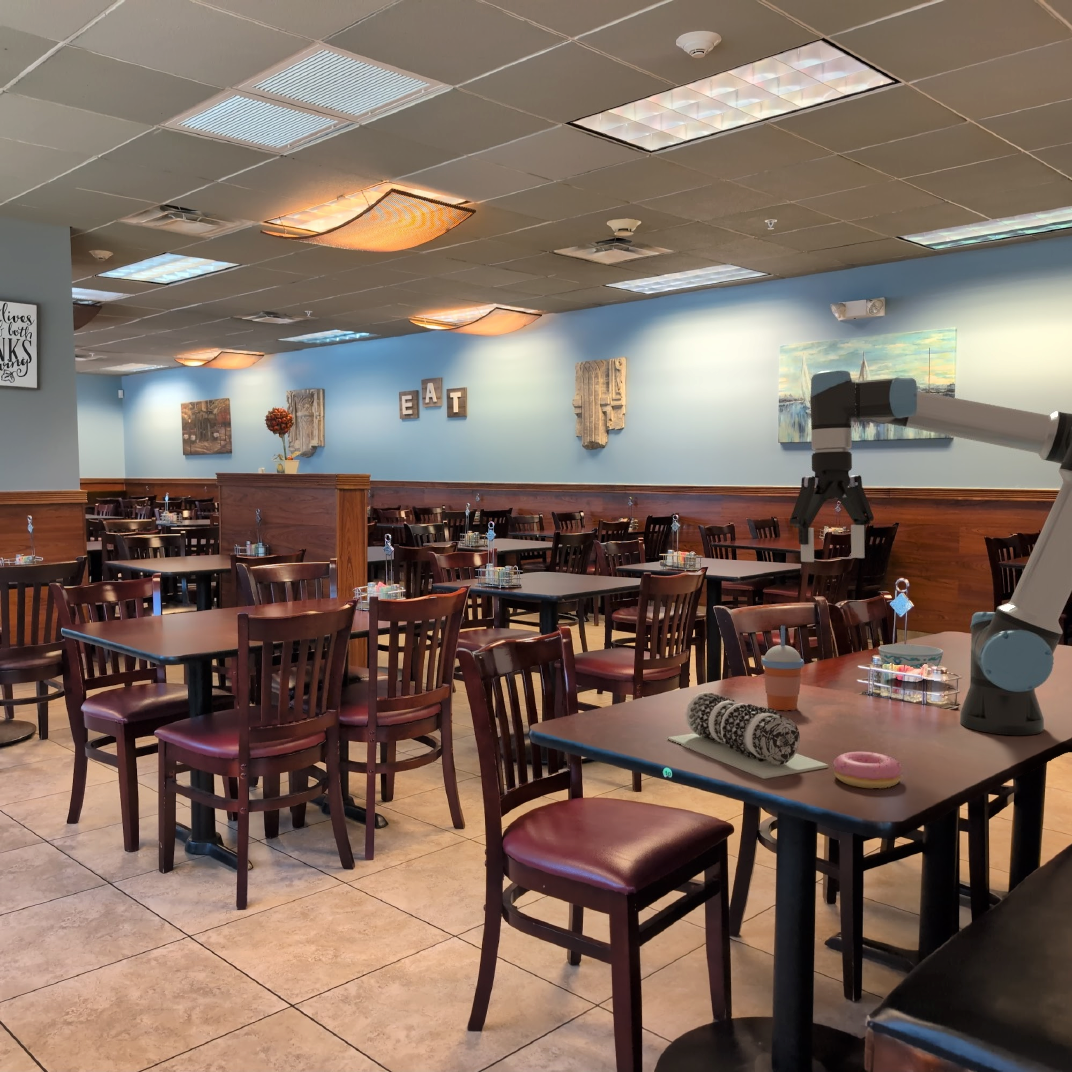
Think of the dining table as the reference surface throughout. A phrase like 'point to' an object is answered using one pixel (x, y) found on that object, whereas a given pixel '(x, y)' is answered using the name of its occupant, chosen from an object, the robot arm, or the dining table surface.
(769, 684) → the cup with straw
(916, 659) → the chinaware
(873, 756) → the doughnut
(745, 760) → the sage rubber mat
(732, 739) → the decorative candle
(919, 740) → the dining table surface
